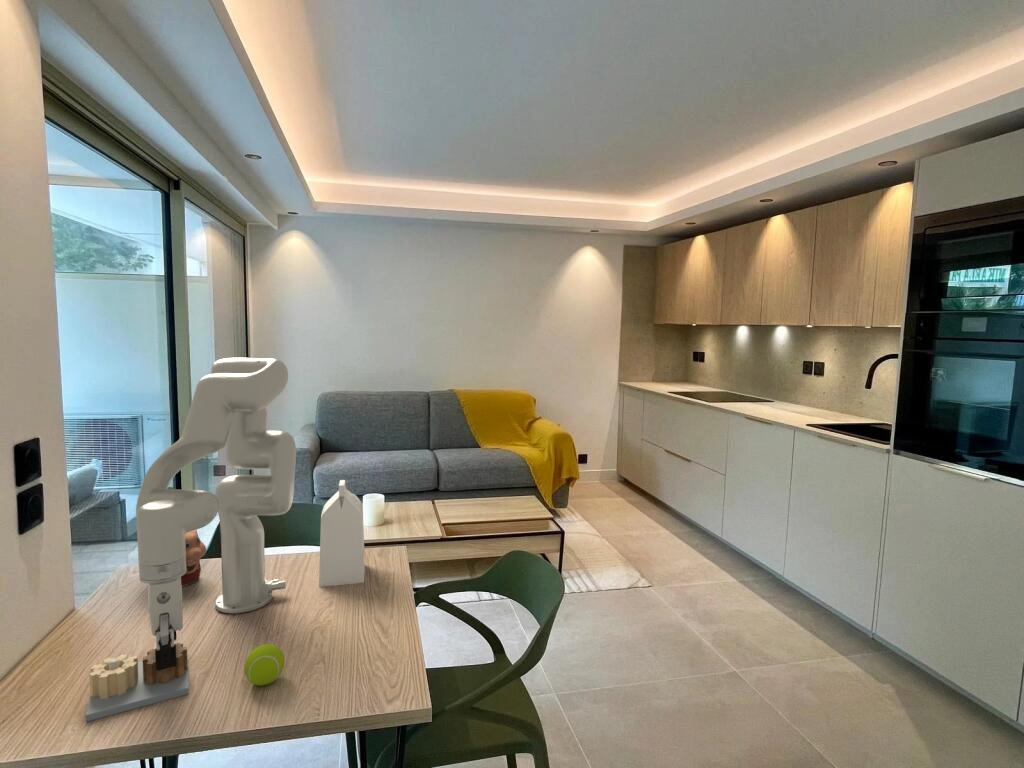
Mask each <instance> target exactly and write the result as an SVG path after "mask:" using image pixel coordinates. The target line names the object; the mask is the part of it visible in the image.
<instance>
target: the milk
mask: <svg viewBox="0 0 1024 768" xmlns="http://www.w3.org/2000/svg"><path fill="white" fill-rule="evenodd" d="M346 487H347V486H346V479H340V480H339V483H338V491H336V492H335V493H334V495H332V497H330V498H329V499H328V500H327V501H326V503H325V504H324V505H323V507H322V511H321V514H320V515H321V516H320V532H319V533H320V539H319V566H318V567H319V571H318V572H319V574H318V587H328V586H341V585H351V584H353V585H355V584H364V583H365V571H366V569H365V567H366V561H365V559H366V558H365V556H366V555H365V536H364V535H365V534H364V533H365V532H364V529H365V528H364V508H363V503H362V501H361V500H360V498H359V497H358V496H357V494H355V493H353V492H351V491H350V490H348V488H346Z"/></svg>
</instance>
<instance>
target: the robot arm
mask: <svg viewBox="0 0 1024 768" xmlns="http://www.w3.org/2000/svg"><path fill="white" fill-rule="evenodd" d="M210 371H211V373H210V374H207V375H205V376H203V377H201V378H200V380H198V382H197V384H196V387H195V390H194V394H193V397H192V400H191V404H190V405H189V406H190V407H189V410H188V413H187V417H186V421H185V424H184V428H183V431H182V434H181V436H180V438H178V440H177V441H175V442H174V443H173V444H172V445H170V446H169V447H168V448H167V449H165V451H163V452H162V454H160V455H159V456H158V457H157V458H156V460H155V461H153V462H152V464H150V467H149V468H148V469H147V471H146V473H145V474H144V477H143V480H142V483H141V487H140V490H139V492H138V496H137V500H136V504H135V516H136V534H137V535H136V537H137V556H138V576H139V577H138V578H139V579H138V580H139V581H140V582H141V583H143V584H146V585H147V586H146V587H147V598H148V599H147V601H148V602H147V604H148V614H149V622H150V623H149V624H150V629H151V634H152V636H154V637H155V640H156V642H155V643H156V644H155V645H156V648H154V649H155V658H156V670H157V671H159V670H163V669H167V668H170V667H174V666H176V665H177V659H176V644H177V643H175V642H176V641H177V631H178V632H180V631H182V629H183V626H184V625H183V621H184V619H183V618H184V617H183V610H184V609H183V588H182V587H183V586H181V576H183V575H184V574H185V573H186V571H187V570H186V545H185V534H186V533H187V532H190V531H193V530H196V531H197V530H199V529H203V528H205V527H206V526H208V525H210V523H212V522H213V520H215V518H216V517H217V514H218V520H219V525H220V526H219V527H220V550H221V552H220V553H221V555H220V556H221V585H222V586H221V587H222V589H221V590H222V594H221V595H219V596H218V597H217V598H216V600H215V603H214V604H215V606H214V607H215V608H216V611H219V612H221V613H224V614H241V613H246V612H247V613H248V612H251V611H255V610H257V609H260V608H262V607H264V606H266V605H268V604H269V603H270V602H271V600H272V598H273V591H277V590H284V589H286V580H282V581H281V580H279V578H276V579H273V580H269V579H267V578H266V564H265V562H266V561H265V559H266V558H265V530H264V526H263V523H262V521H261V519H260V518H259V516H280V515H284V514H286V513H287V512H288V511H290V509H291V507H292V504H293V499H294V493H295V477H296V465H297V464H296V462H297V461H296V460H297V447H296V441H295V439H294V437H293V435H292V434H291V433H289V432H287V431H283V430H267V415H268V414H267V407H268V406H269V405H270V404H271V403H272V402H273V401H275V399H276V398H278V397H279V395H280V394H281V393H282V392H284V390H285V388H286V387H287V383H288V381H289V371H288V368H287V366H286V364H285V363H284V362H283V361H282V360H280V359H279V358H278V359H276V358H267V357H266V358H259V357H258V358H257V357H253V358H252V357H227V358H221V359H218V360H216V361H215V362H214V363H213V364H212V365H211V370H210ZM224 448H225V450H226V452H225V457H226V463H227V464H228V465H229V466H230V467H231V468H235V469H237V470H238V469H240V470H268V471H270V474H269V475H268V474H267V475H261V474H235V475H229V476H227V477H225V478H222V479H221V480H220V481H219V482H218V484H217V485H216V488H215V491H214V493H213V492H211V491H209V490H203V489H202V490H201V489H174V488H173V489H171V488H170V489H169V486H170V483H171V482H172V481H173V479H174V478H175V476H176V474H178V473H179V472H180V471H181V470H182V469H184V468H185V467H187V466H188V465H190V464H192V463H194V462H197V461H198V460H201V459H203V458H205V457H208V456H210V455H213V454H215V453H217V452H220V451H222V450H223V449H224Z"/></svg>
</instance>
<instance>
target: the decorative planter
mask: <svg viewBox="0 0 1024 768" xmlns="http://www.w3.org/2000/svg"><path fill="white" fill-rule="evenodd" d="M198 534H199V533H198V531H197V530H193V531H190V532H187V533H186V534H185V545H186V570H187V571H186V573H185V574H184V575H183V576H181V586H182V587H186V586H187V585H188V586H189V585H190V584H193V583H194V582H196V581H197V580H199V579H200V575H201V572H202V571H201V570H202V569H201V562H200V561H201V558H203V557H204V556H205V555H206V553H207V547H206V545H205V543H204V542H203V541H202V540H201V539H200V537H199V535H198Z"/></svg>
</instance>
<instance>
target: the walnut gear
mask: <svg viewBox="0 0 1024 768" xmlns="http://www.w3.org/2000/svg"><path fill="white" fill-rule="evenodd" d="M175 644H176V659H177V665H176V666H174V667H170V668H167V669H163V670H159V671H157V670H156V658H155V649H156V648H151V649H150V650H148V651H147V652H146V655H144V656H142V661H143V681H144V680H147V684H150V685H153V684H154V683H160V682H162V684H165V683H169V682H170V680H172V679H174V678H175V677H176V678H180V677H181V676H182V675H184V670H187V669H188V670H189V665H188V666H187V661H188V647H187V646H185V647H184V643H181V642H180V643H179V642H177V643H175Z"/></svg>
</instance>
